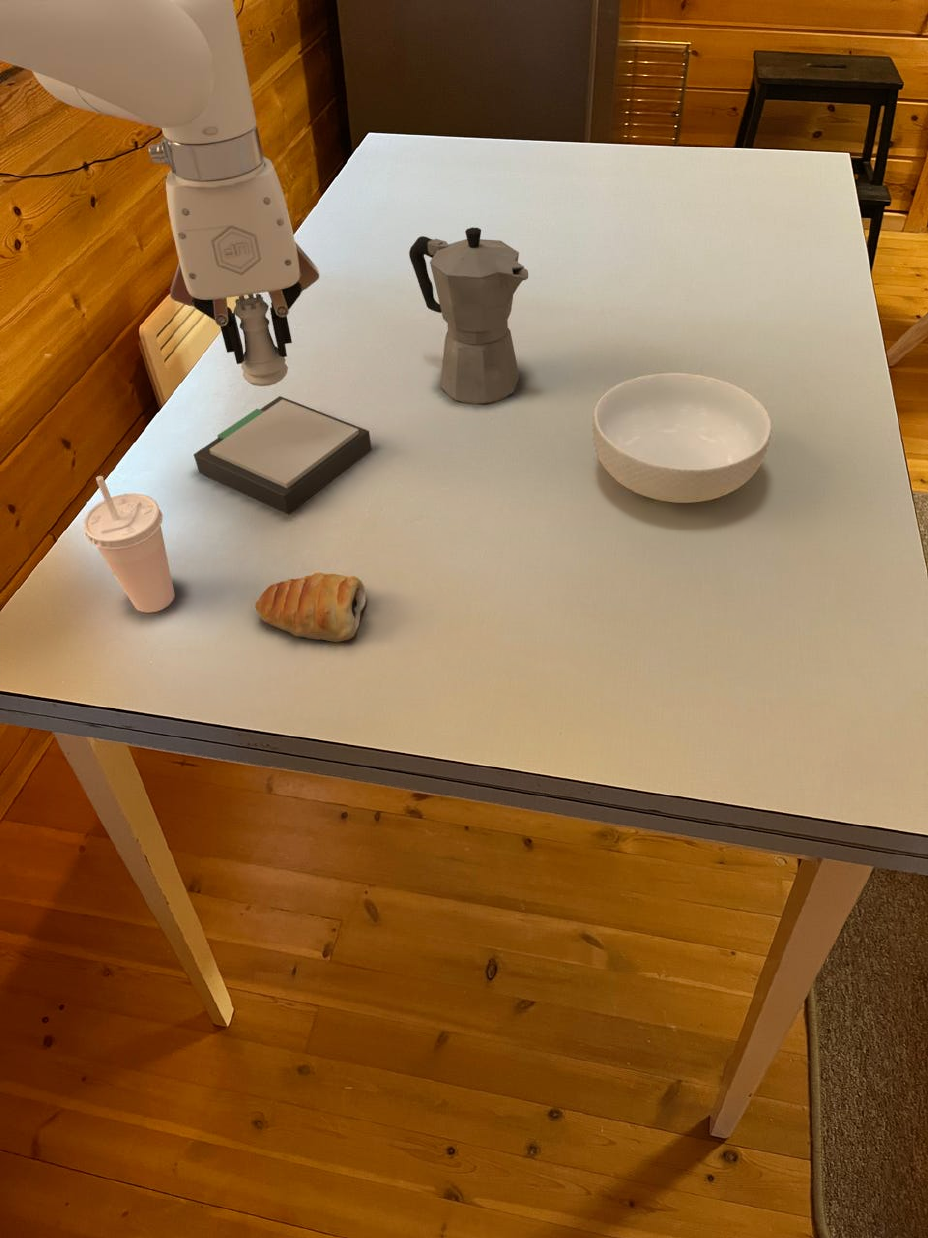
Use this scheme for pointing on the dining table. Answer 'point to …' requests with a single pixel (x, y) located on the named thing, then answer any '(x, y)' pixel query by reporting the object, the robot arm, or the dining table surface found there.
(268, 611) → the pastry
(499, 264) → the coffeepot
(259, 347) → the rook chess piece
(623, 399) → the cereal bowl
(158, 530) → the smoothie
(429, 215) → the dining table surface
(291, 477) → the scale
